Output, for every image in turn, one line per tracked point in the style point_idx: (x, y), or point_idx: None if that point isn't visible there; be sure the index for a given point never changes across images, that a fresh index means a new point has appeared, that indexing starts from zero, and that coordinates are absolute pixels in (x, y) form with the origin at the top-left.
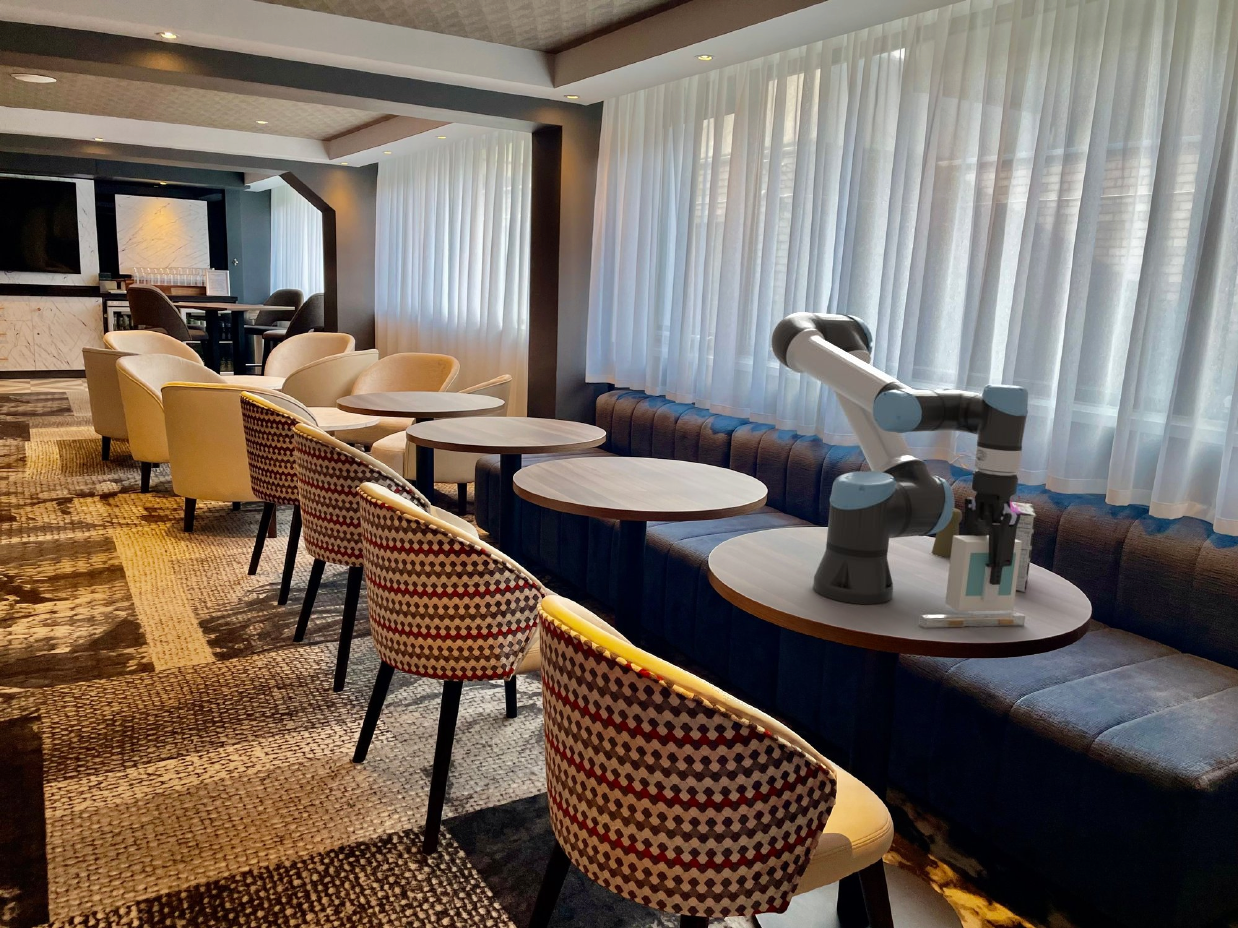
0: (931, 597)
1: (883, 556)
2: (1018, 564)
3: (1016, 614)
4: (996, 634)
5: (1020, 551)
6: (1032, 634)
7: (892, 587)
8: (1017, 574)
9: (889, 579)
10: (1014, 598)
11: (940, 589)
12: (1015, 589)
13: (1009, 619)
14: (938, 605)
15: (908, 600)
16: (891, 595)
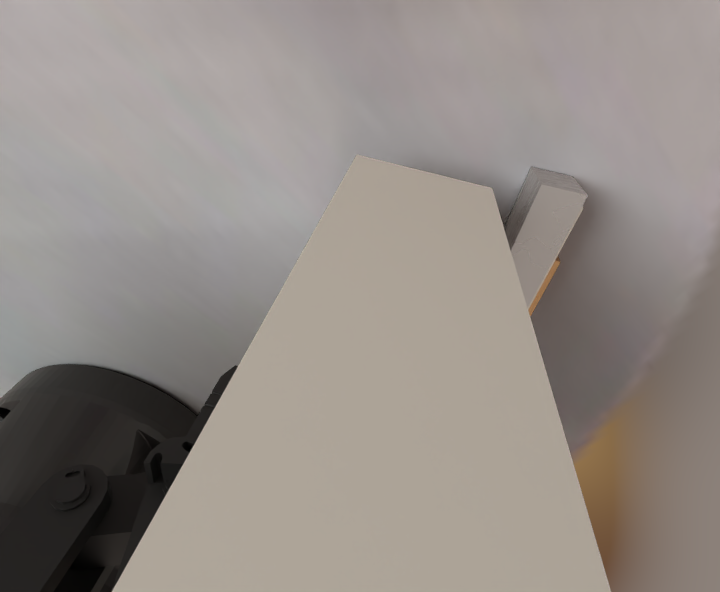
0: (158, 279)
1: (105, 582)
2: (547, 394)
3: (545, 224)
4: (569, 365)
5: (605, 574)
6: (668, 239)
7: (165, 437)
8: (529, 317)
9: (137, 457)
10: (500, 217)
11: (37, 158)
12: (508, 247)
13: (549, 281)
14: (250, 321)
15: (194, 369)
16: (185, 420)
